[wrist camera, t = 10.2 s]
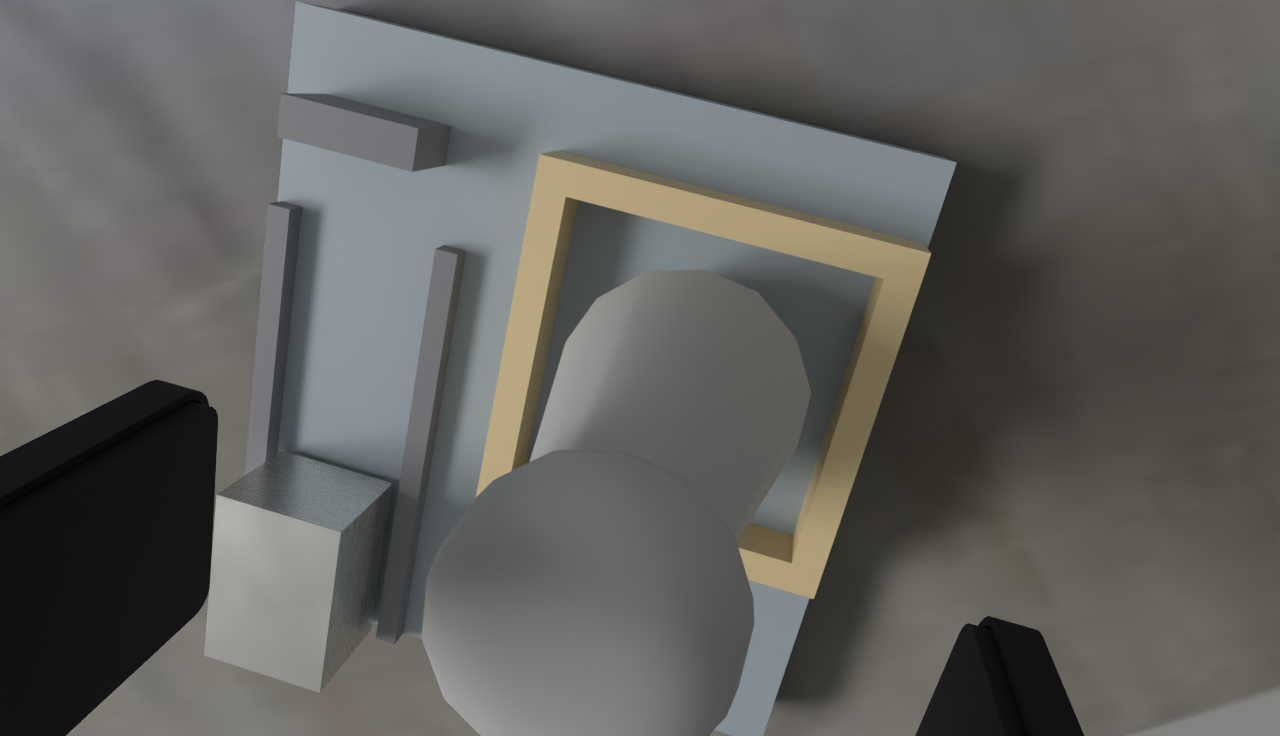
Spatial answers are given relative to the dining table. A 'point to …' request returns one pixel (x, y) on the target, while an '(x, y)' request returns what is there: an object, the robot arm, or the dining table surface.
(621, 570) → the salt shaker
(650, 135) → the base
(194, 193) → the dining table surface
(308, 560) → the cover
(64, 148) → the dining table surface
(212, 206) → the dining table surface
